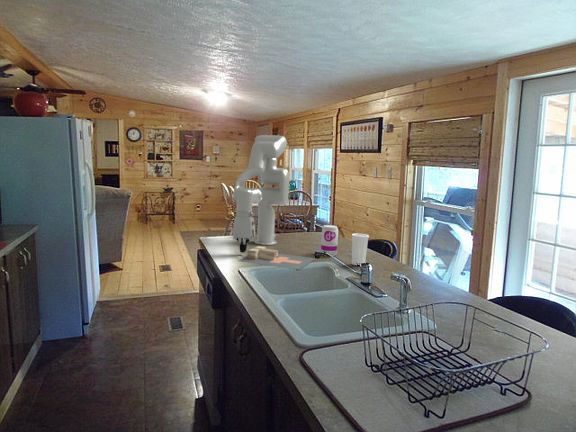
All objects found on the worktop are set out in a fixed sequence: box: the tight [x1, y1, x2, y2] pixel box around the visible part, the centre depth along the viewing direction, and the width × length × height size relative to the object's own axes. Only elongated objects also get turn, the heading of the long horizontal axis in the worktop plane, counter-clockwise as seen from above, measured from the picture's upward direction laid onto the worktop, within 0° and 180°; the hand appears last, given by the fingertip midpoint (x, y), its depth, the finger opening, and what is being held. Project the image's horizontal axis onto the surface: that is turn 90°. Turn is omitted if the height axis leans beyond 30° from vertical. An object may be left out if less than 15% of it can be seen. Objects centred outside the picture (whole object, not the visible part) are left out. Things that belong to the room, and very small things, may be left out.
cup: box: [351, 233, 370, 266], centre depth 203 cm, size 8×8×14 cm
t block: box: [247, 245, 279, 260], centre depth 208 cm, size 12×12×4 cm
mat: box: [238, 253, 317, 271], centre depth 206 cm, size 24×30×1 cm
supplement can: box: [320, 224, 339, 257], centre depth 221 cm, size 8×8×15 cm
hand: (242, 251), depth 212 cm, fingers closed
